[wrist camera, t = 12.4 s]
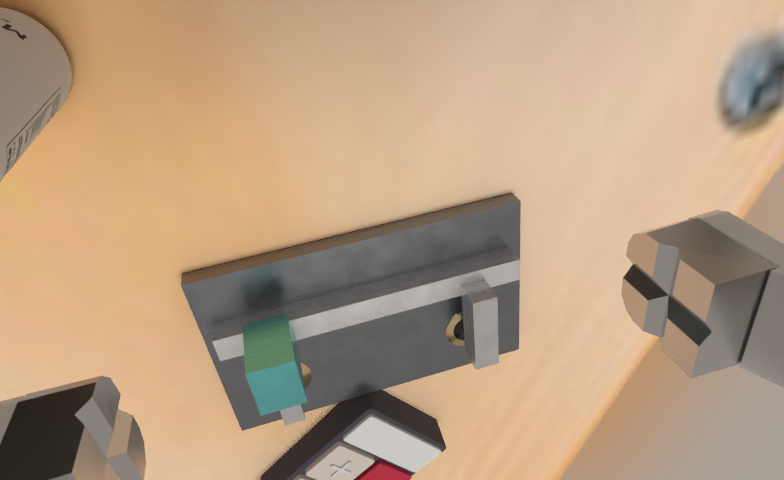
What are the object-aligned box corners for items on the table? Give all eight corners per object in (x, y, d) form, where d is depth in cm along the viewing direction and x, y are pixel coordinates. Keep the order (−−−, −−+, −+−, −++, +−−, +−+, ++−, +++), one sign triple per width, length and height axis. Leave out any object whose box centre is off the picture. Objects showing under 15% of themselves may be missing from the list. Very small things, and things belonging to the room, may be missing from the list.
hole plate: (511, 192, 44) (548, 228, 39) (511, 338, 52) (541, 382, 47) (182, 273, 39) (177, 324, 35) (241, 417, 48) (243, 474, 43)
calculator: (259, 510, 50) (372, 415, 47) (258, 469, 54) (362, 377, 50) (344, 537, 56) (451, 454, 52) (338, 499, 60) (437, 418, 56)
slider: (284, 297, 41) (294, 360, 35) (308, 380, 45) (321, 447, 40) (241, 308, 40) (245, 374, 34) (270, 391, 45) (278, 460, 39)
